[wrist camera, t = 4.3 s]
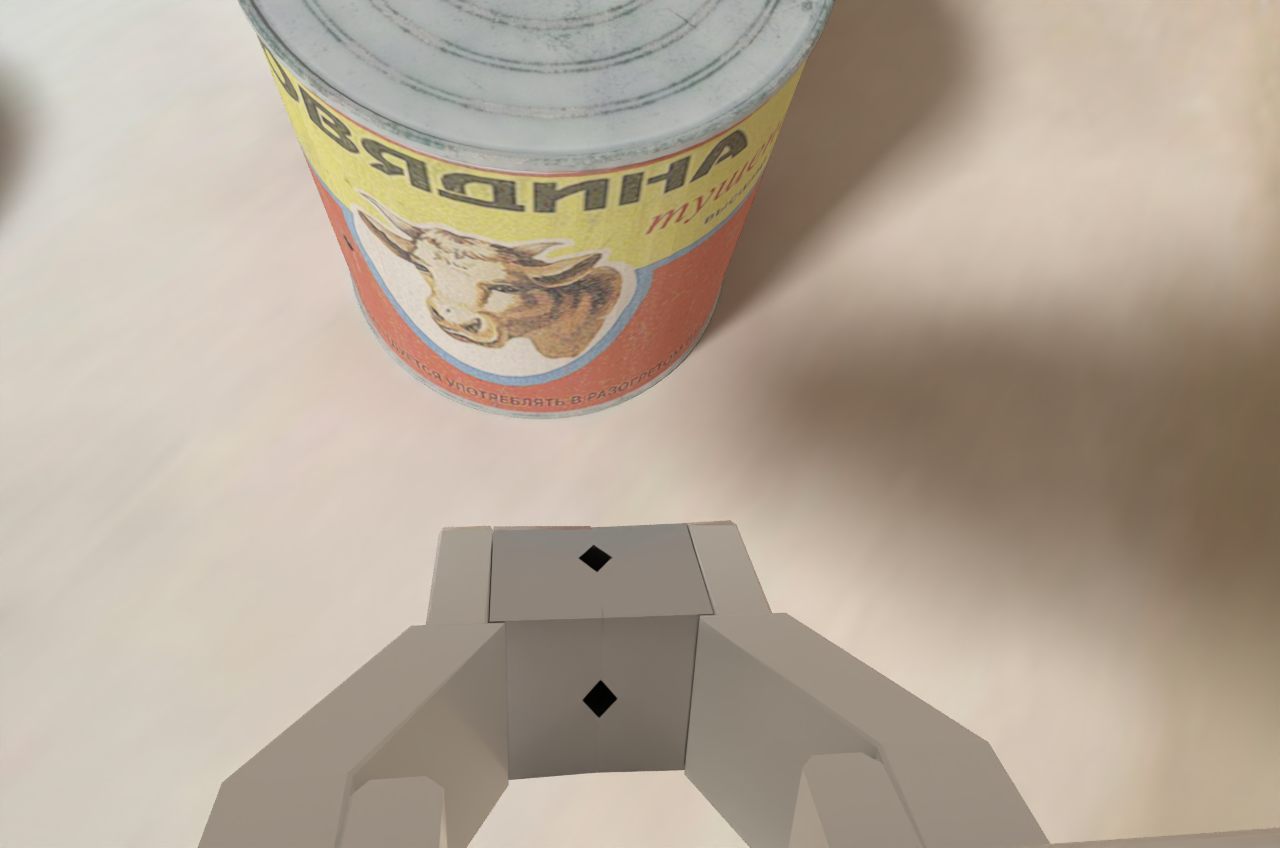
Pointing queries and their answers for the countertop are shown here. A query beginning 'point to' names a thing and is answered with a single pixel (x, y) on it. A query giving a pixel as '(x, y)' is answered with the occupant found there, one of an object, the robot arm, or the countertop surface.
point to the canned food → (537, 176)
